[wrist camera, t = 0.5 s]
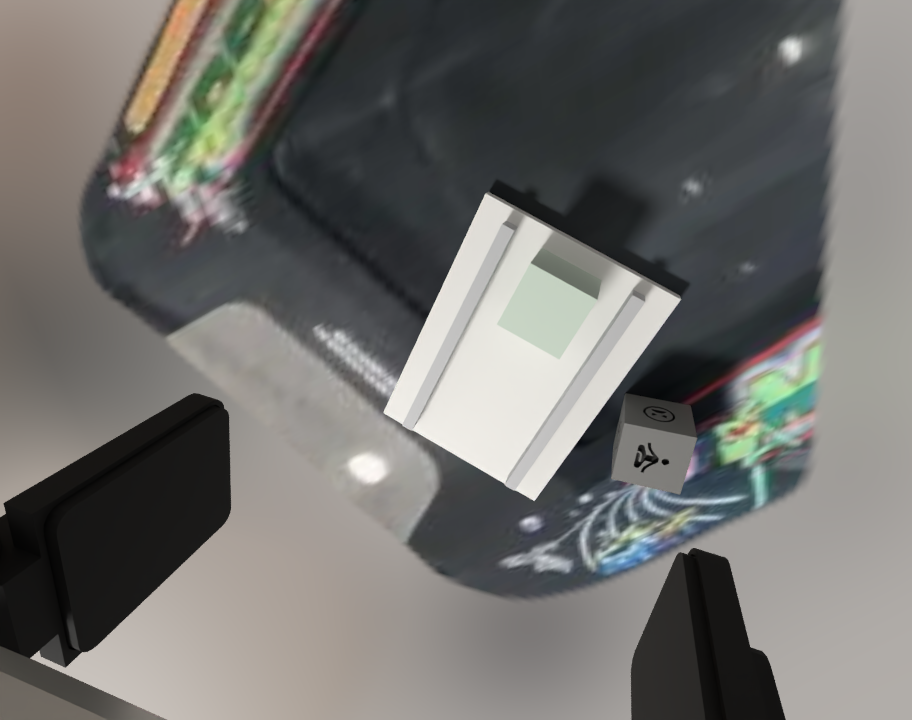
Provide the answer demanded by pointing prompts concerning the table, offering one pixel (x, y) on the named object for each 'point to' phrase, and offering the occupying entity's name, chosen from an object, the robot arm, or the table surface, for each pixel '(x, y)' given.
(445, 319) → the rail board
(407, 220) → the table surface
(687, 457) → the dice cube
